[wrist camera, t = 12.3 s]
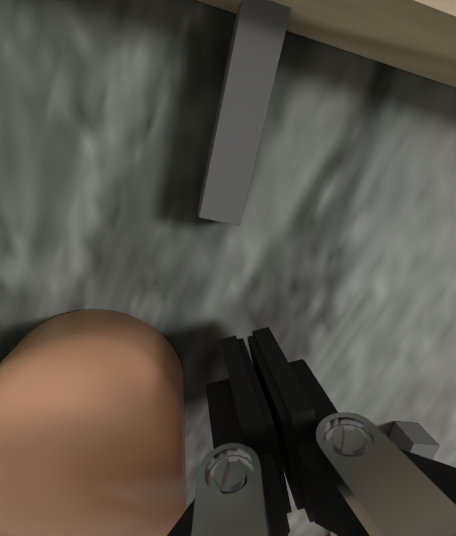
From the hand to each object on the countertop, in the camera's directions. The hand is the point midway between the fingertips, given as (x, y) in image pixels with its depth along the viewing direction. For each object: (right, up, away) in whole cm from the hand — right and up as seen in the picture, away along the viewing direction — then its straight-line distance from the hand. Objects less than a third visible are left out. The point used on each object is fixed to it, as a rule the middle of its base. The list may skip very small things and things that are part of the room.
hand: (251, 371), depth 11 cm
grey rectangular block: (-1, +8, -1) cm, 8 cm away
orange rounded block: (-5, -1, +1) cm, 6 cm away
